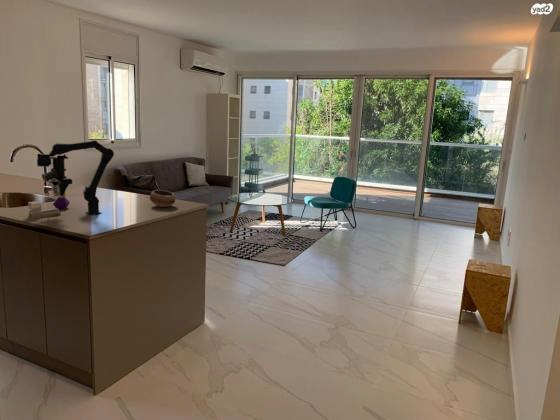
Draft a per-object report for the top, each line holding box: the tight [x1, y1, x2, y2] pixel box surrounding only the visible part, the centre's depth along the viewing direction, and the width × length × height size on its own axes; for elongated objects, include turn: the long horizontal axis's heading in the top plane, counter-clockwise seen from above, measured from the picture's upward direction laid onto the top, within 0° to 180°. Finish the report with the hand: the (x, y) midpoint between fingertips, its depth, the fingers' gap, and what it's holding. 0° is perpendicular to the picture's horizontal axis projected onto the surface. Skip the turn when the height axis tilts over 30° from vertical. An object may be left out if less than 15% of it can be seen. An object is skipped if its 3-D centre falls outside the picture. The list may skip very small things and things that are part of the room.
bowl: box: [149, 189, 176, 208], centre depth 280 cm, size 16×16×10 cm
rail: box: [27, 201, 61, 220], centre depth 239 cm, size 6×14×8 cm, turn 140°
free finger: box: [52, 185, 66, 199], centre depth 241 cm, size 5×4×6 cm
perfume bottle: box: [52, 196, 71, 210], centre depth 258 cm, size 8×8×18 cm
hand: (59, 194), depth 242 cm, fingers closed on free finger, 5 cm apart
